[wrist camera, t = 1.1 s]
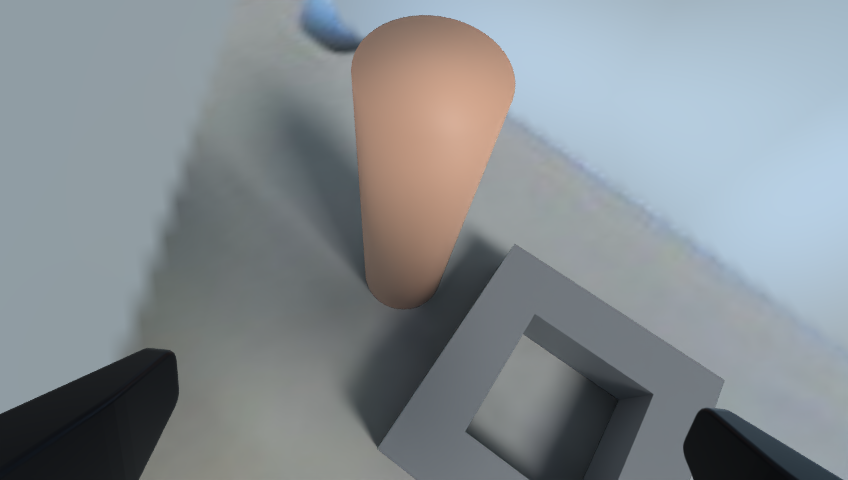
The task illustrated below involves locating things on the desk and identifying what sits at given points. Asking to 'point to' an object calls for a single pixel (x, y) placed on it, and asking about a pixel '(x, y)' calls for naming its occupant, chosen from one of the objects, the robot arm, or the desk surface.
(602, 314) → the socket block
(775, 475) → the robot arm
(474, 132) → the peg
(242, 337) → the desk surface
